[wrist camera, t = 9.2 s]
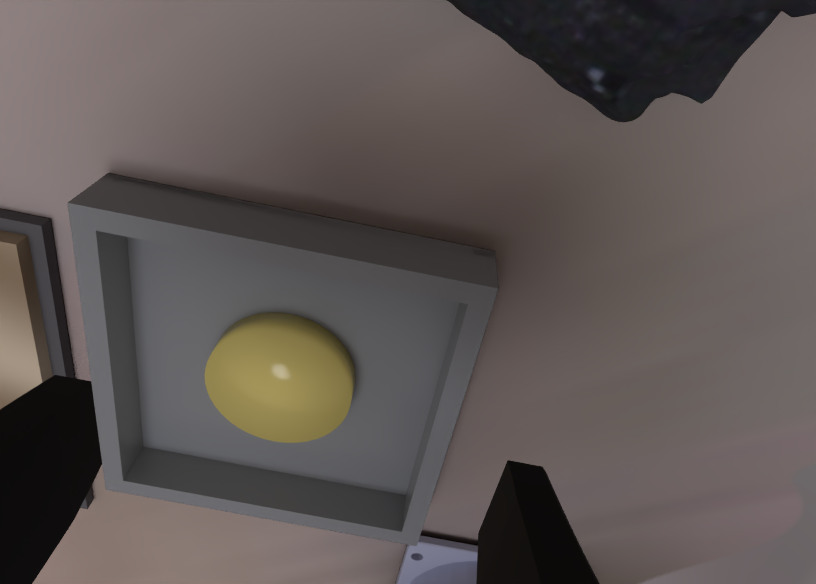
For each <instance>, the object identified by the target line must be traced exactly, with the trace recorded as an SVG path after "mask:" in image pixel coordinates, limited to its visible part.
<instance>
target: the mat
mask: <svg viewBox="0 0 816 584" xmlns="http://www.w3.org/2000/svg"><path fill="white" fill-rule="evenodd" d="M0 230H1V231H6V232H11V233H16V234H21V235H27V236H28V239H29V245H30V251H31V256H32V262H33V268H34V273H35V279H36V284H37V290H38V296H39V301H40V307H41V313H42V318H43V324H44V329H45V335H46V341H47V346H48V352H49V358H50V363H51V369H52V374H53V376H54V375H59V376H65V377H70V378H75V376H74V369H73V363H72V356H71V350H70V343H69V337H68V330H67V324H66V317H65V311H64V304H63V297H62V291H61V284H60V278H59V271H58V265H57V258H56V252H55V245H54V239H53V232H52V225H51V219H48V218H43V217H38V216H33V215H28V214H23V213H18V212H13V211H8V210H3V209H0ZM92 501H93V494H92V487H90V489H89V492H88V494H87V496H86V497H85V499H84V501H83V503H82V505H81V507H80V508H84V509H88V507H89V506H90V504H91V503H92Z"/></svg>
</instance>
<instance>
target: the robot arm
mask: <svg viewBox="0 0 816 584" xmlns="http://www.w3.org/2000/svg"><path fill="white" fill-rule="evenodd" d="M101 465H102V459H101V451H100V444H99V437H98V429H97V422H96V414H95V407H94V399H93V392H92V384H91V381H86V380H80V379H75V378H70V377H65V376H59V375H54V376H52V377H51V378H49V379H47V380H46V381H44V382H42V383H41V384H39V385H38V386H36V387H34V388H33V389H31V390H30V391H28V392H27V393H25V394H23V395H22V396H20V397H19V398H17V399H15V400H14V401H12V402H11V403H9V404H8V405H6V406H4V407H3V408H1V409H0V584H32V583H33V581H34V580H35V578H36V577H37V575H38V574H39V572H40V571H41V569H42V568H43V566H44V565H45V563H46V562H47V560H48V559H49V557H50V556H51V554H52V553H53V551H54V550H55V548H56V547H57V545H58V544H59V542H60V540H61V539H62V537H63V536H64V534H65V533H66V531H67V530H68V528H69V527H70V525H71V523H72V522H73V520H74V519H75V517H76V515H77V513H78V511H79V509H80V507H81V505H82V503H83V501H84V499H85V497H86V496H87V494H88V492H89V489H90V487H91V485H92V483H93V481H94V479H95V477H96V475H97V473H98V471H99V469H100V467H101ZM395 584H599V582H598V580H597V578H596V576H595V574H594V572H593V570H592V568H591V566H590V565H589V563H588V561H587V559H586V557H585V555H584V553H583V551H582V549H581V547H580V545H579V543H578V541H577V538H576V536H575V534H574V532H573V530H572V528H571V526H570V524H569V522H568V520H567V518H566V515H565V513H564V511H563V509H562V507H561V505H560V502H559V500H558V498H557V496H556V494H555V491H554V489H553V487H552V485H551V482H550V480H549V478H548V476H547V473H546V472H545V470H544V469H543V467H541V466H535V465H530V464H525V463H519V462H514V461H509V460H508V461H507V464H506V466H505V469H504V471H503V474H502V476H501V478H500V481H499V483H498V486H497V488H496V491H495V493H494V496H493V498H492V501H491V503H490V506H489V508H488V511H487V513H486V516H485V518H484V521H483V523H482V526H481V528H480V531H479V534H478V546H476V545H470V544H465V543H459V542H454V541H448V540H443V539H437V538H432V537H427V536H420V537H419V540H418V544H417V546H412V545H407V547H406V551H405V554H404V557H403V560H402V564H401V567H400V570H399V574H398V577H397V580H396V583H395Z"/></svg>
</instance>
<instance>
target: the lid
mask: <svg viewBox="0 0 816 584" xmlns="http://www.w3.org/2000/svg"><path fill="white" fill-rule="evenodd" d="M52 376H53V374H52V369H51V363H50V358H49V352H48V346H47V341H46V335H45V329H44V324H43V318H42V313H41V307H40V301H39V296H38V290H37V284H36V279H35V273H34V268H33V262H32V256H31V251H30V245H29V239H28V236H27V235H21V234H16V233H11V232H6V231H1V230H0V409H1V408H3V407H4V406H6V405H8V404H9V403H11V402H12V401H14V400H15V399H17V398H19V397H20V396H22V395H23V394H25V393H27V392H28V391H30V390H31V389H33V388H34V387H36V386H38V385H39V384H41V383H42V382H44V381H46V380H47V379H49V378H51V377H52Z"/></svg>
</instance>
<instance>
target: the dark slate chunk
mask: <svg viewBox="0 0 816 584" xmlns="http://www.w3.org/2000/svg"><path fill="white" fill-rule="evenodd" d="M447 1H449V2H450V3H452V4H453V5H454V6H455V7H456V8H457V9H458V10H459V11H461V12H462V13H463V14H464V15H466V16H468V17H469V18H471V19H472V20H474V21H476V22H477V23H479V24H480V25H482V26H483V27H485V28H486V29H488V30H490V31H492V32H493V33H495V34H496V35H498V36H499V37H501V38H502V39H503V40H505V41H506V42H507V43H508V44H509V45H510V46H511V47H512V48H513V49H514V50H515V51H517V52H518V53H519V54H521V55H522V56H524V57H526V58H528V59H531V60H532V61H534V62H535V63H537V64H538V65H539V66H540V67H541V68H542V69H543V70H544V71H545V72H546V73H547V74H549V75H550V76H551V77H552V78H553V79H554V80H555V81H556V82H557V83H558V84H559V85H560V86H562V87H563V88H564V89H566V90H568V91H569V92H571V93H573V94H576V95H578V96H580V97H582V98H583V99H585V100H586V101H588V102H589V103H590V104H592V105H593V106H594V107H595V108H596V109H597V110H599V111H600V112H601V113H602V114H604V115H605V116H607V117H608V118H610V119H612V120H615V121H618V122H628V121H632V120H635V119H636V118H638V117H639V116H641V115H642V113H643V112H644V111H645V109H646V108H647V107H648V106H649V104H650V103H651V102H652V101H653V100H655V99H656V98H660V97H663V96H666V95H668V94H670V93H671V92H672V93H677V94H681V95H684V96H687V97H690V98H692V99H694V100H696V101H697V102H699V103H701V104H702V103H703V102H705V101H707V100H708V99H710V98H711V97H712V96H713V95H714V93H715V92H716V90H717V89H718V87H719V86H720V84H721V83H722V81H723V80H724V79H725V77H726V76H727V74H728V73H729V71H730V70H731V68H732V67H733V66H734V64H735V63H736V61H737V60H738V59H739V58H740V57H741V55H742V54H743V53H744V52H745V51H746V50H747V49H748V48H749V47H750V46H751V45H752V44H753V43H754V42H755V40H756V39H757V38H758V37H759V36H760V35H761V34H762V33H763V31H764V30H765V29H766V28H767V27H768V26H769V25H770V24H771V23H772V21H773V20H774V19H775V18H776V16H777V15H778V14H779V13H780V12H781V11H783V12H785V13H786V14H788V15H789V16H791V17H799V16H805V15H809V14H814V13H816V0H447Z"/></svg>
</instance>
